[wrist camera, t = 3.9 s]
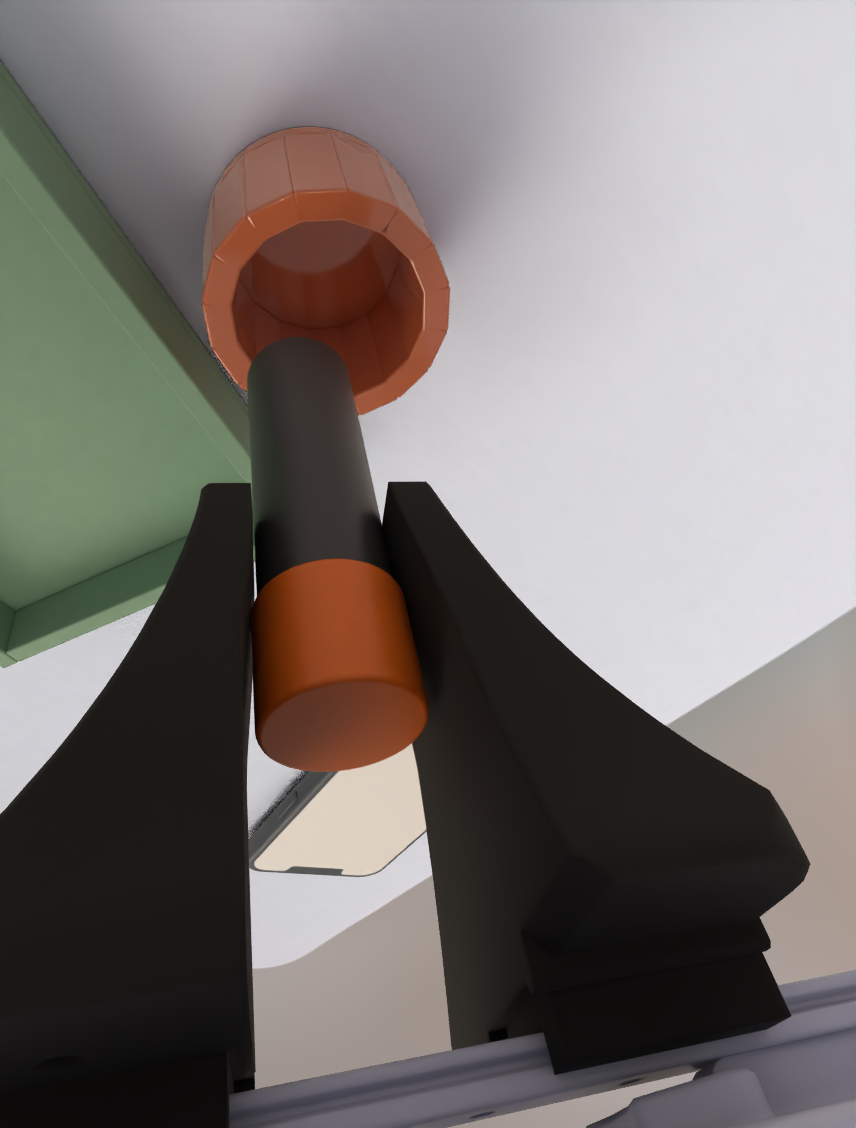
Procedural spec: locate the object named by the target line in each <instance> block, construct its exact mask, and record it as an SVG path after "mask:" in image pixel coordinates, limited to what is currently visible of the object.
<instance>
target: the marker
mask: <svg viewBox="0 0 856 1128" xmlns="http://www.w3.org/2000/svg"><path fill="white" fill-rule="evenodd" d="M247 391H248V413H249V434H250V456H251V477H252V499H253V520H254V541H255V563H256V584H257V598H256V600H255V602H254V604H253V607H252V610H251V639H252V665H253V692H254V718H255V735H256V739H257V742H258V744H259V746H260V747H261V749H262V750H263V752H264V753H265V754H266V755H267V756H268V757H270V758H271V759H273V760H274V761H276V762H278V763H280V764H282V765H285V766H287V767H290V768H294V769H299V770H305V771H314V772H333V771H344V770H351V769H356V768H360V767H364V766H368V765H371V764H374V763H377V762H380V761H382V760H385V759H387V758H389V757H391V756H393V755H395V754H397V753H399V752H400V751H402V750H404V749H405V748H406V747H408V746H409V745H410V744H412V743H413V742H414V741H415V740H416V739H417V738H418V737H419V735H420V734H421V733H422V731H423V730H424V728H425V726H426V724H427V721H428V717H429V703H428V699H427V694H426V690H425V686H424V681H423V677H422V672H421V668H420V664H419V659H418V655H417V650H416V646H415V641H414V637H413V633H412V628H411V624H410V619H409V615H408V611H407V606H406V602H405V597H404V594H403V591H402V589H401V588H400V586H399V584H398V583H397V582H396V581H395V580H394V579H393V575H392V570H391V566H390V561H389V557H388V552H387V547H386V543H385V538H384V534H383V529H382V524H381V520H380V515H379V511H378V506H377V501H376V497H375V492H374V488H373V483H372V479H371V474H370V469H369V465H368V460H367V456H366V451H365V446H364V442H363V437H362V433H361V428H360V424H359V419H358V414H357V410H356V405H355V401H354V396H353V391H352V387H351V382H350V378H349V373H348V370H347V367H346V365H345V362H344V361H343V359H342V358H341V357H340V355H339V354H338V353H337V352H336V351H335V350H334V349H332V348H331V347H330V346H328V345H327V344H325V343H323V342H321V341H318V340H315V339H312V338H307V337H289V338H284V339H280V340H278V341H275V342H273V343H271V344H269V345H268V346H266V347H265V348H264V349H262V350H261V351H260V352H259V353H258V354H257V356H256V357H255V358H254V360H253V361H252V363H251V365H250V368H249V371H248V375H247Z"/></svg>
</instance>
